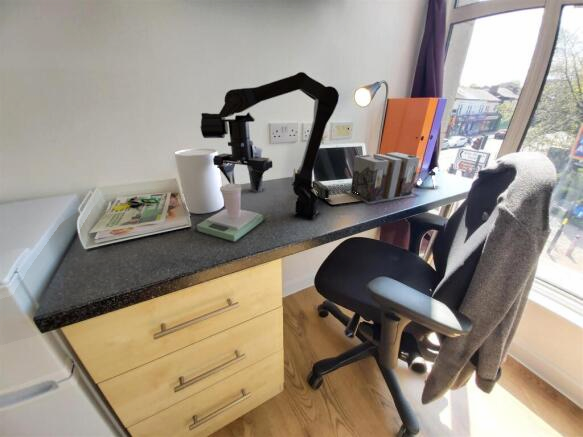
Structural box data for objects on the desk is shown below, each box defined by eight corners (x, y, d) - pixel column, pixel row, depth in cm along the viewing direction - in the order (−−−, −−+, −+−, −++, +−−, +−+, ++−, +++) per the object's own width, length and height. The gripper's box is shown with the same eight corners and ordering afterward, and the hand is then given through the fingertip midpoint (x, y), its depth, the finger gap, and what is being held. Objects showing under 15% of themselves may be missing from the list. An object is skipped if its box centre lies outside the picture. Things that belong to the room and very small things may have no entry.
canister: (188, 201, 93) (178, 149, 84) (224, 198, 96) (217, 147, 87) (183, 215, 81) (170, 156, 72) (224, 211, 84) (216, 154, 75)
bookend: (416, 195, 100) (425, 156, 93) (368, 203, 91) (375, 161, 84) (389, 184, 113) (395, 150, 106) (345, 191, 104) (349, 154, 97)
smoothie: (234, 222, 70) (229, 176, 64) (219, 217, 73) (212, 173, 67) (248, 214, 75) (245, 171, 69) (233, 210, 78) (229, 168, 72)
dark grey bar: (311, 180, 103) (326, 190, 90) (317, 179, 104) (333, 189, 91) (310, 191, 105) (325, 202, 92) (317, 190, 106) (332, 201, 93)
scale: (263, 220, 78) (263, 212, 77) (234, 241, 66) (233, 233, 64) (229, 212, 83) (229, 205, 82) (197, 230, 71) (195, 222, 70)
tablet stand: (418, 182, 116) (422, 165, 113) (436, 185, 112) (441, 167, 109) (415, 186, 110) (419, 169, 106) (434, 190, 106) (439, 171, 102)
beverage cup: (262, 193, 101) (259, 145, 92) (246, 192, 103) (242, 144, 94) (267, 188, 108) (265, 142, 99) (252, 187, 109) (248, 142, 100)
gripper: (280, 136, 73) (281, 185, 79) (232, 133, 80) (236, 178, 87) (261, 141, 64) (263, 195, 70) (208, 137, 71) (215, 187, 78)
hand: (244, 188), depth 77 cm, fingers open, 9 cm apart
